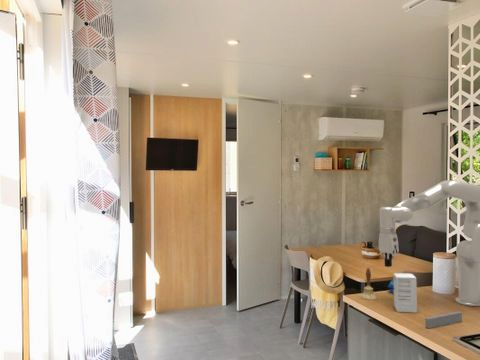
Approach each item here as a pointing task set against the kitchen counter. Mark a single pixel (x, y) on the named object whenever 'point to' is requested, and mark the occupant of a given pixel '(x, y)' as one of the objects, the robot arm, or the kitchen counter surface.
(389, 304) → the kitchen counter surface
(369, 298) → the hand bell
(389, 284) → the crystal
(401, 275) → the supplement box
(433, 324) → the gray rectangular bar
